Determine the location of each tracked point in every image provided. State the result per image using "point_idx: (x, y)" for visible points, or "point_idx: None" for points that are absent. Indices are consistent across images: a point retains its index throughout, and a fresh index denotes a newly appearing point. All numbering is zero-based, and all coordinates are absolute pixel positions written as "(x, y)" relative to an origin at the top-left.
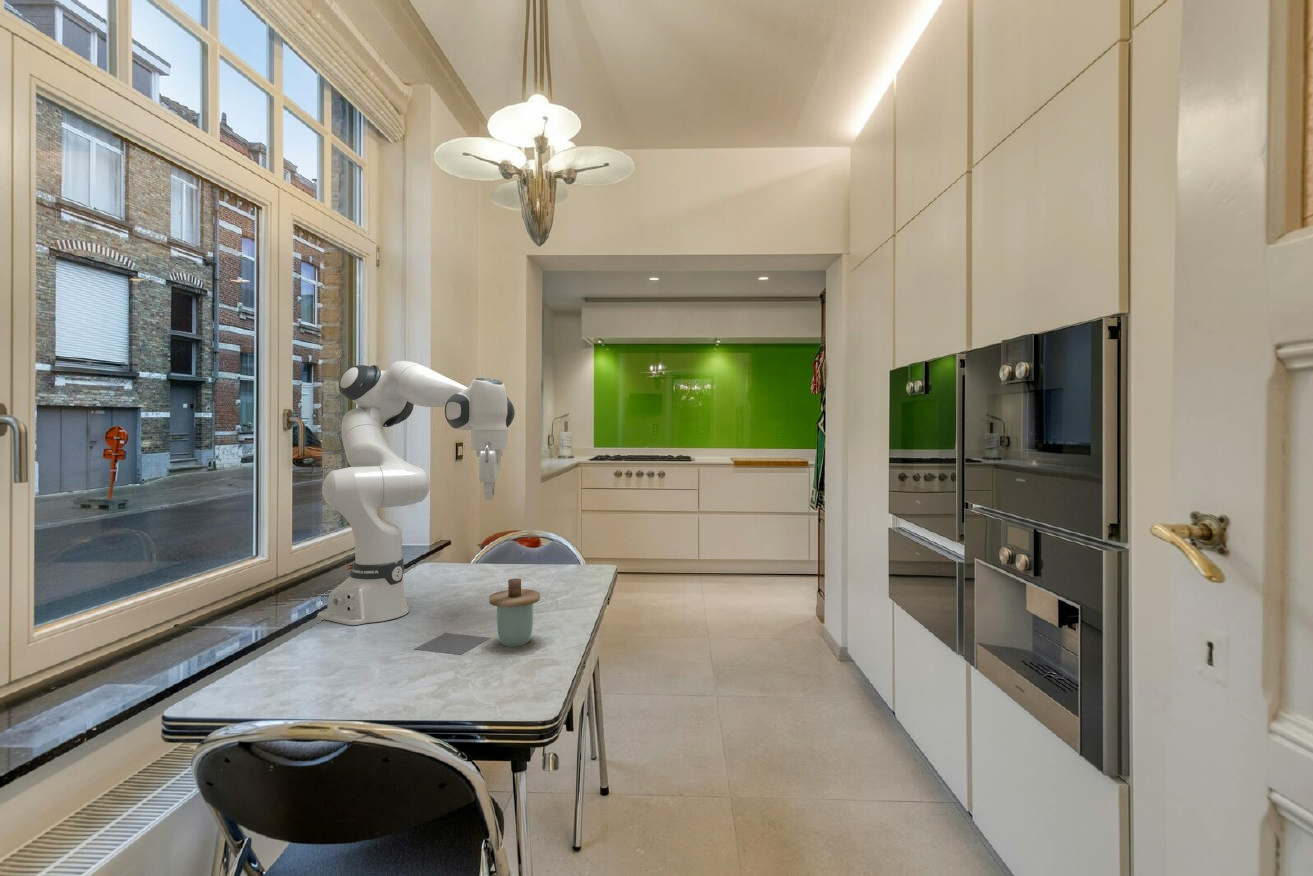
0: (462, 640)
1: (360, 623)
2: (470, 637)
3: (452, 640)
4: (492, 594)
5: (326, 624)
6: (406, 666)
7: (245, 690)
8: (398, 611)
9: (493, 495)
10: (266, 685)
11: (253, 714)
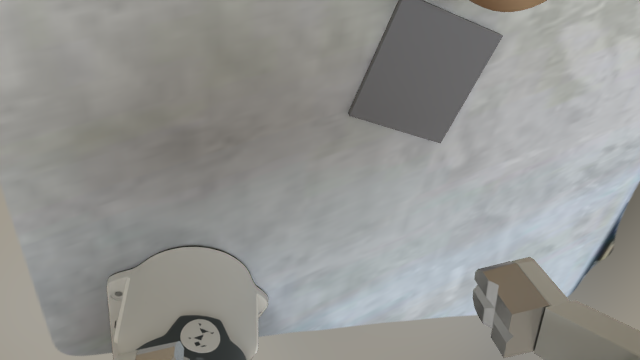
0: (411, 60)
1: (262, 291)
2: (393, 46)
3: (405, 83)
4: (490, 7)
5: None
6: (508, 124)
7: None
8: (213, 260)
9: (179, 347)
10: None
11: (599, 234)
